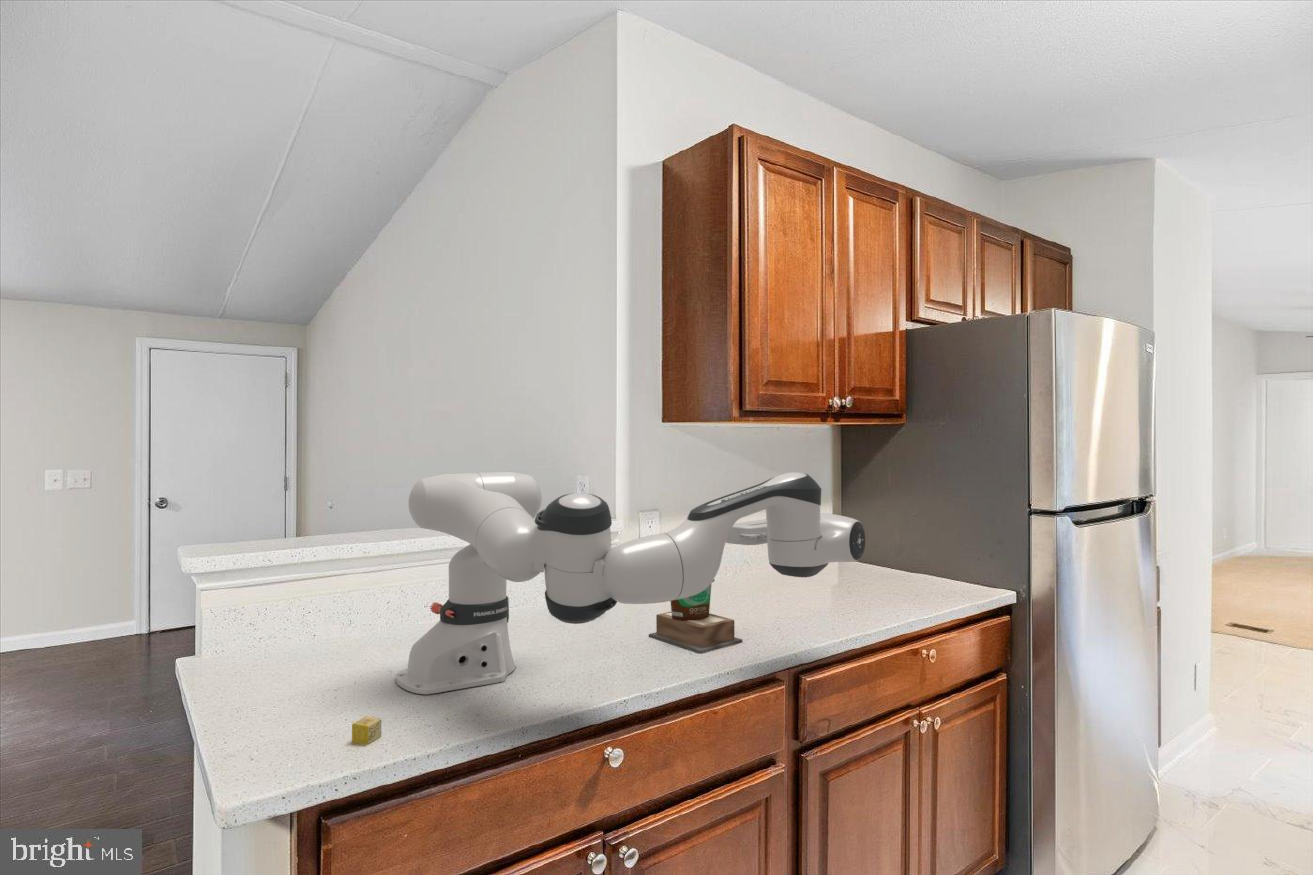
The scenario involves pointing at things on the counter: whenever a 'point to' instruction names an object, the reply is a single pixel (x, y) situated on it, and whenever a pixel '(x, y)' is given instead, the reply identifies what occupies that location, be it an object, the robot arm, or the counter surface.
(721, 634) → the walnut pedestal
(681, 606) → the food container
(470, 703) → the counter surface
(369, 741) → the alphabet block
